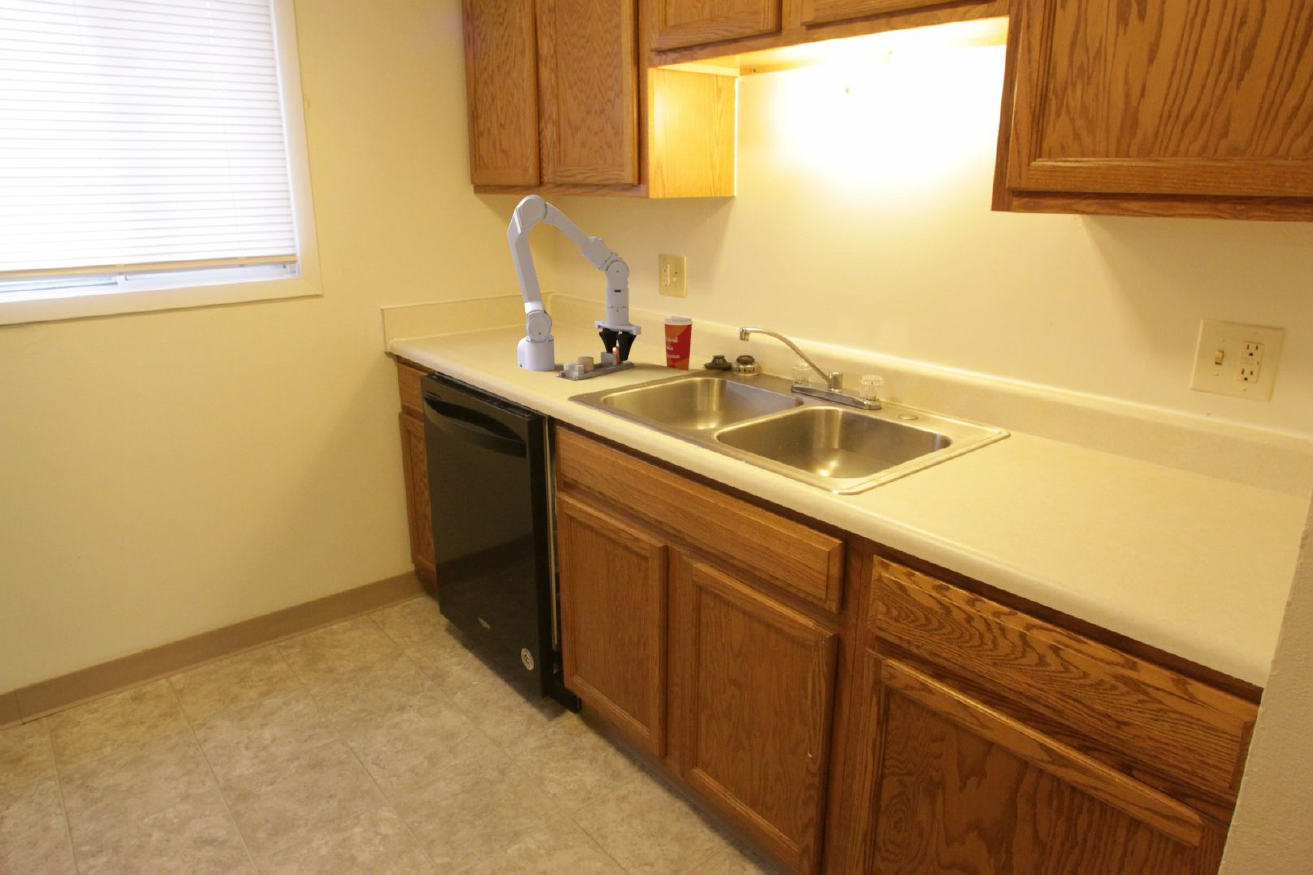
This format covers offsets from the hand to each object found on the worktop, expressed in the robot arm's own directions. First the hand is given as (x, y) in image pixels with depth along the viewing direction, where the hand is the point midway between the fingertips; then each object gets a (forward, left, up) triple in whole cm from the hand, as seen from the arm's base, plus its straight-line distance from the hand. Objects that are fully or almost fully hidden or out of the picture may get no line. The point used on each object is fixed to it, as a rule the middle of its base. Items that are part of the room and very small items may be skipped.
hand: (617, 359), depth 226 cm
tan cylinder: (0, -12, -2) cm, 12 cm away
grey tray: (0, -8, -3) cm, 8 cm away
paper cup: (+10, +12, -4) cm, 16 cm away
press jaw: (0, 0, -2) cm, 2 cm away
